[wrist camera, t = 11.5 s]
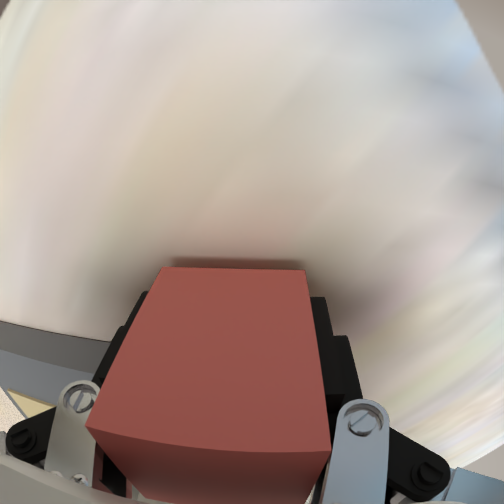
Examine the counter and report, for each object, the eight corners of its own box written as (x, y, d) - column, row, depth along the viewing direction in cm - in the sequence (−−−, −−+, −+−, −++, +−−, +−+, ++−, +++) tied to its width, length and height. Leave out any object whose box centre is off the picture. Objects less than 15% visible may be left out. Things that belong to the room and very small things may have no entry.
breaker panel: (197, 488, 23) (191, 529, 19) (92, 465, 23) (81, 500, 19) (138, 346, 13) (105, 428, 9) (-14, 317, 14) (-53, 366, 10)
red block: (293, 367, 12) (300, 511, 7) (180, 362, 12) (145, 497, 7) (304, 270, 10) (331, 450, 4) (162, 266, 10) (84, 425, 5)
